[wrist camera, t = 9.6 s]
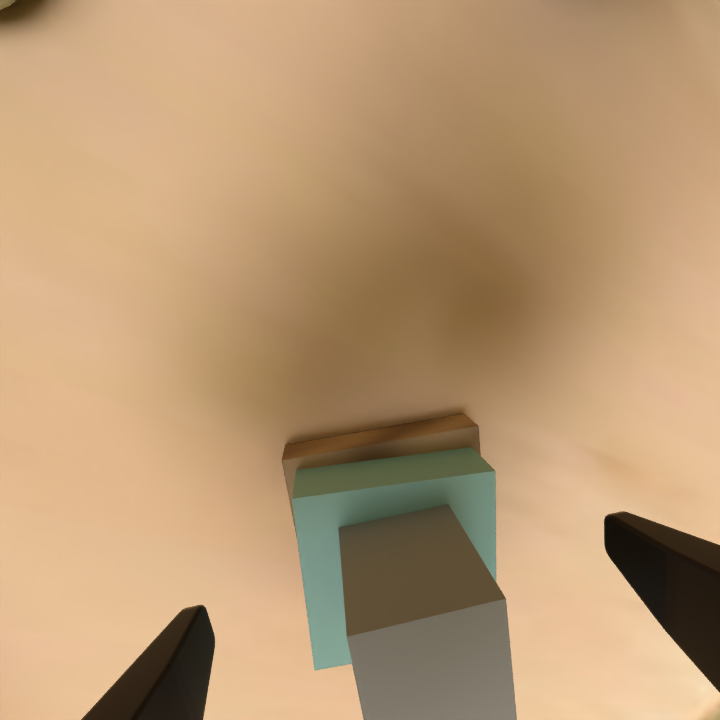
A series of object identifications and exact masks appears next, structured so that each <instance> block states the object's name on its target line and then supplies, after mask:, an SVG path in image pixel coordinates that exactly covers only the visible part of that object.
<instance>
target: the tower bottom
mask: <svg viewBox="0 0 720 720" xmlns="http://www.w3.org/2000/svg"><path fill="white" fill-rule="evenodd" d="M469 447H472V448H473V449H474V450H475V451H476V452H477V453H478V454H479V455H480V442H479V428H478V425H477V424H475V423H474V422H473V421H472V420H471V419H470V418H468V417H467V416H466V415H465V414H460V415H455V416H449V417H443V418H437V419H432V420H426V421H420V422H414V423H409V424H403V425H397V426H391V427H386V428H380V429H374V430H368V431H363V432H357V433H351V434H345V435H340V436H334V437H328V438H322V439H317V440H311V441H305V442H299V443H293V444H288V445H285V449H284V453H283V458H282V464H283V469H284V475H285V480H286V485H287V490H288V495H289V500H290V505H291V510H292V515H293V520H294V526H295V518H294V511H293V503H292V495H293V487H294V480H295V473H296V470H299V469H307V468H315V467H322V466H330V465H338V464H345V463H353V462H361V461H369V460H376V459H384V458H392V457H399V456H407V455H415V454H423V453H430V452H438V451H446V450H453V449H461V448H469ZM480 456H481V455H480ZM295 531H296V526H295ZM296 536H297V533H296Z"/></svg>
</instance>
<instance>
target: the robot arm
mask: <svg viewBox="0 0 720 720" xmlns="http://www.w3.org/2000/svg"><path fill="white" fill-rule="evenodd" d="M604 544H605V549H606V552H607V554H608V556H609V557H610V559H611V560H612V561H613V563H614V564H615V565H616V567H617V568H618V569H619V571H620V572H621V573H622V575H623V576H624V577H625V579H626V580H627V581H628V583H629V584H630V585H631V587H632V588H633V589H634V590H635V592H636V593H637V594H638V596H639V597H640V598H641V600H642V601H643V602H644V604H645V605H646V606H647V608H648V609H649V610H650V612H651V613H652V614H653V616H654V617H655V618H656V619H657V621H658V622H659V623H660V624H661V626H662V627H663V628H664V629H665V631H666V632H667V633H668V634H669V635H670V637H671V638H672V639H673V640H674V641H675V642H676V644H677V645H678V646H679V647H680V648H681V649H682V650H683V651H684V653H685V654H686V655H687V656H688V657H689V658H690V659H691V661H692V662H693V663H694V664H695V665H696V666H697V667H698V669H699V670H700V671H701V672H702V673H703V674H704V675H705V676H706V678H707V679H708V680H709V681H710V682H711V683H712V684H713V686H714V687H715V688H716V689H717V690H718V691H719V692H720V545H718V544H715V543H712V542H709V541H707V540H704V539H701V538H698V537H695V536H693V535H690V534H687V533H684V532H681V531H678V530H676V529H673V528H670V527H667V526H664V525H662V524H659V523H656V522H653V521H650V520H648V519H645V518H642V517H639V516H636V515H634V514H631V513H628V512H617V513H612V514H608V515H607V516H606V517H605V519H604ZM214 648H215V637H214V632H213V629H212V626H211V623H210V619H209V616H208V613H207V610H206V608H205V607H204V606H203V605H197V606H193V607H188V608H185V609H183V610H182V611H181V612H179V614H178V615H177V616H176V617H175V618H174V619H173V620H172V621H171V622H170V623H169V624H168V626H167V627H166V628H165V629H164V630H163V631H162V632H161V633H160V634H159V635H158V636H157V638H156V639H155V640H154V641H153V642H152V643H151V644H150V645H149V646H148V647H147V648H146V650H145V651H144V652H143V653H142V654H141V655H140V656H139V657H138V658H137V659H136V660H135V662H134V663H133V664H132V665H131V666H130V667H129V668H128V669H127V670H126V671H125V672H124V674H123V675H122V676H121V677H120V678H119V679H118V680H117V681H116V682H115V683H114V685H113V686H112V687H111V688H110V689H109V690H108V691H107V692H106V693H105V694H104V695H103V697H102V698H101V699H100V700H99V701H98V702H97V703H96V704H95V705H94V706H93V707H92V709H91V710H90V711H89V712H88V713H87V714H86V715H85V716H84V717H83V718H82V719H81V720H203V717H204V710H205V704H206V698H207V692H208V686H209V680H210V673H211V667H212V661H213V655H214Z"/></svg>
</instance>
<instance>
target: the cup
mask: <svg viewBox="0 0 720 720" xmlns="http://www.w3.org/2000/svg"><path fill="white" fill-rule="evenodd" d="M16 1H17V0H0V10H2V9H4V8H6V7H8V6H11V5H12V4H13V3H14V2H16Z"/></svg>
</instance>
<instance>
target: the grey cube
mask: <svg viewBox="0 0 720 720" xmlns="http://www.w3.org/2000/svg"><path fill="white" fill-rule="evenodd" d="M338 530H339V543H340V556H341V569H342V582H343V595H344V608H345V621H346V634H347V641H348V646H349V650H350V655H351V660H352V665H353V670H354V675H355V680H356V684H357V689H358V694H359V699H360V704H361V709H362V714H363V718H364V720H517V716H516V705H515V694H514V683H513V672H512V661H511V650H510V639H509V628H508V617H507V606H506V598H505V596H504V595H503V593H502V591H501V590H500V588H499V586H498V585H497V583H496V582H495V580H494V578H493V577H492V575H491V573H490V572H489V570H488V568H487V567H486V565H485V563H484V562H483V560H482V558H481V557H480V555H479V554H478V552H477V550H476V549H475V547H474V545H473V544H472V542H471V540H470V539H469V537H468V535H467V534H466V532H465V530H464V529H463V527H462V526H461V524H460V522H459V521H458V519H457V517H456V516H455V514H454V512H453V511H452V509H451V507H450V506H449V504H447V505H442V506H437V507H433V508H428V509H423V510H419V511H414V512H410V513H405V514H400V515H396V516H391V517H387V518H382V519H377V520H373V521H368V522H364V523H359V524H354V525H350V526H345V527H341V528H338Z"/></svg>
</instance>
